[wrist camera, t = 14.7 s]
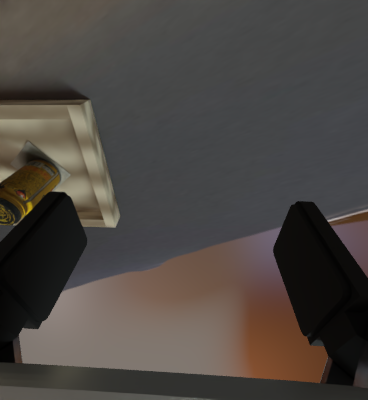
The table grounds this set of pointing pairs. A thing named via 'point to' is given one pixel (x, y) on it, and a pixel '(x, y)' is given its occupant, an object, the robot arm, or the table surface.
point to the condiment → (28, 183)
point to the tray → (62, 152)
